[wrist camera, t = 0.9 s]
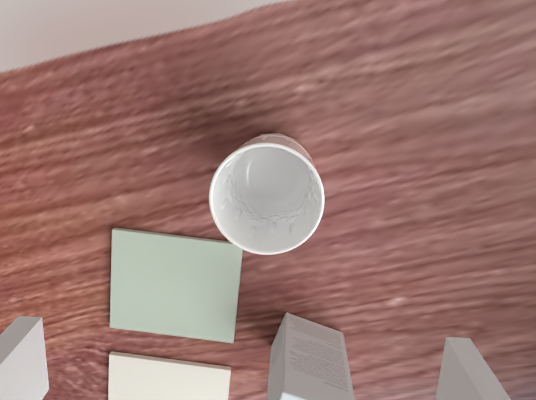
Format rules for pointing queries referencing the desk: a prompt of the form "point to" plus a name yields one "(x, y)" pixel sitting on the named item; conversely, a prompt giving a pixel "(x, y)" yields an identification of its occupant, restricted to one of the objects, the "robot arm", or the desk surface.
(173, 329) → the shorter pad
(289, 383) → the skincare box
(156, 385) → the taller pad
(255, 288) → the desk surface
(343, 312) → the desk surface
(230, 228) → the white cup
